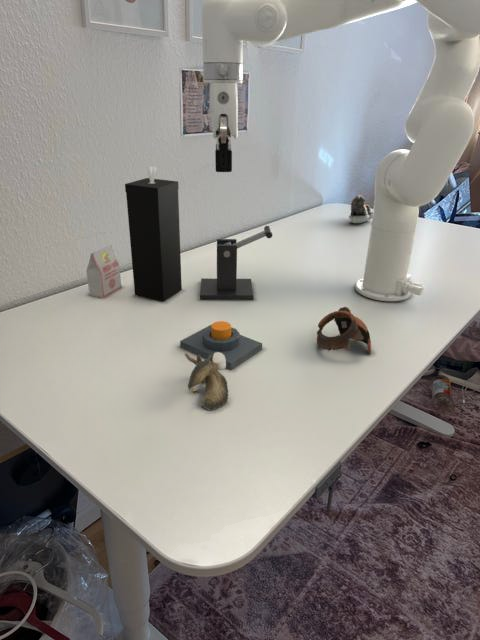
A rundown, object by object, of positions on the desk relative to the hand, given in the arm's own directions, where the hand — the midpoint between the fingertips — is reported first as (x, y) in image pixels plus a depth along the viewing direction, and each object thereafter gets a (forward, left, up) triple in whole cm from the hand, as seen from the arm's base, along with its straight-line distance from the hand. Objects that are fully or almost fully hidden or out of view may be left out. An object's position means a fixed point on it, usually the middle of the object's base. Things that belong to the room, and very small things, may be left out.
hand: (223, 167), depth 99 cm
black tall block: (+10, +11, -28) cm, 32 cm away
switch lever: (-4, -3, -17) cm, 18 cm away
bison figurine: (+2, -78, -28) cm, 83 cm away
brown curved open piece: (-34, +6, -28) cm, 44 cm away
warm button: (-17, +21, -25) cm, 36 cm away
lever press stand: (-1, 0, -28) cm, 28 cm away
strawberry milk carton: (+20, +18, -28) cm, 39 cm away
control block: (-17, +21, -28) cm, 38 cm away
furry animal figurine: (-24, +33, -28) cm, 49 cm away
